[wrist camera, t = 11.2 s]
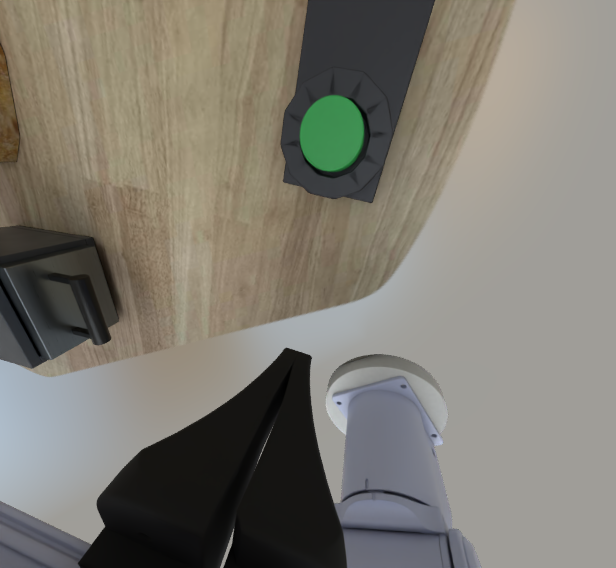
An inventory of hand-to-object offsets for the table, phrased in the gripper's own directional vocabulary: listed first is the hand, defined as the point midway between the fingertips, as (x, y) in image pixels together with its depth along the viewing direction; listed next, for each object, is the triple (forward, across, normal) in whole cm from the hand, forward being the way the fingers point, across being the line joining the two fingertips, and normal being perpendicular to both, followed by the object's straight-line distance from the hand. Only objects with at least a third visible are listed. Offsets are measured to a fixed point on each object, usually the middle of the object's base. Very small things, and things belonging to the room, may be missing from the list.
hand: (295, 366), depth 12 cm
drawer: (+10, +26, +8) cm, 29 cm away
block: (+10, +2, -13) cm, 16 cm away
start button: (+7, +2, -11) cm, 13 cm away
